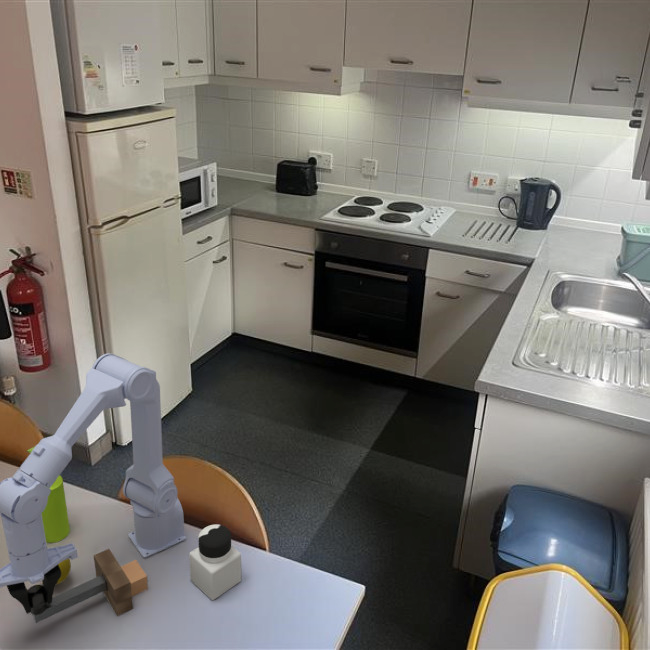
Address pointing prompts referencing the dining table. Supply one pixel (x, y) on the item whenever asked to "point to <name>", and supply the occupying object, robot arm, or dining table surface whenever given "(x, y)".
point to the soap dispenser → (55, 512)
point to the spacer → (135, 577)
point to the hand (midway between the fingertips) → (37, 604)
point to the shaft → (62, 598)
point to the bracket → (114, 582)
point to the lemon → (64, 570)
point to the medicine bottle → (215, 562)
